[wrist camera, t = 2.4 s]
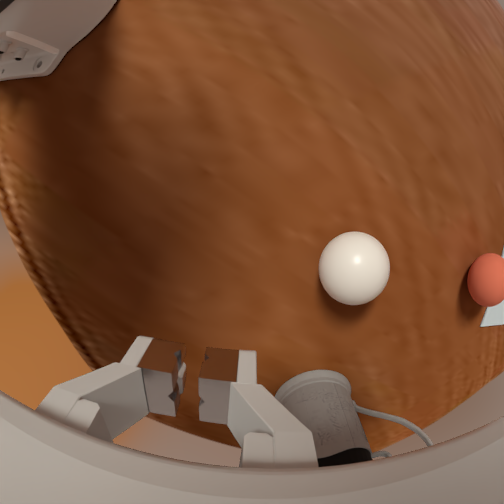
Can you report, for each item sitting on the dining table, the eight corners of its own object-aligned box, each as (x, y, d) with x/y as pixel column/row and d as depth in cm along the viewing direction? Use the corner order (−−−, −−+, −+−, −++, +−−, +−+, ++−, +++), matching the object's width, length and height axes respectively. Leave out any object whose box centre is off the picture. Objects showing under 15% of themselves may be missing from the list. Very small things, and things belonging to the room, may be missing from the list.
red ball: (452, 294, 24) (482, 316, 19) (465, 244, 23) (499, 259, 17) (481, 295, 24) (509, 314, 19) (493, 250, 23) (525, 264, 17)
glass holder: (269, 377, 26) (277, 508, 12) (398, 350, 26) (466, 449, 11) (278, 427, 29) (286, 534, 14) (389, 403, 28) (432, 493, 13)
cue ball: (307, 286, 24) (321, 316, 18) (317, 222, 22) (336, 235, 17) (365, 290, 24) (391, 318, 18) (378, 230, 22) (410, 245, 17)
